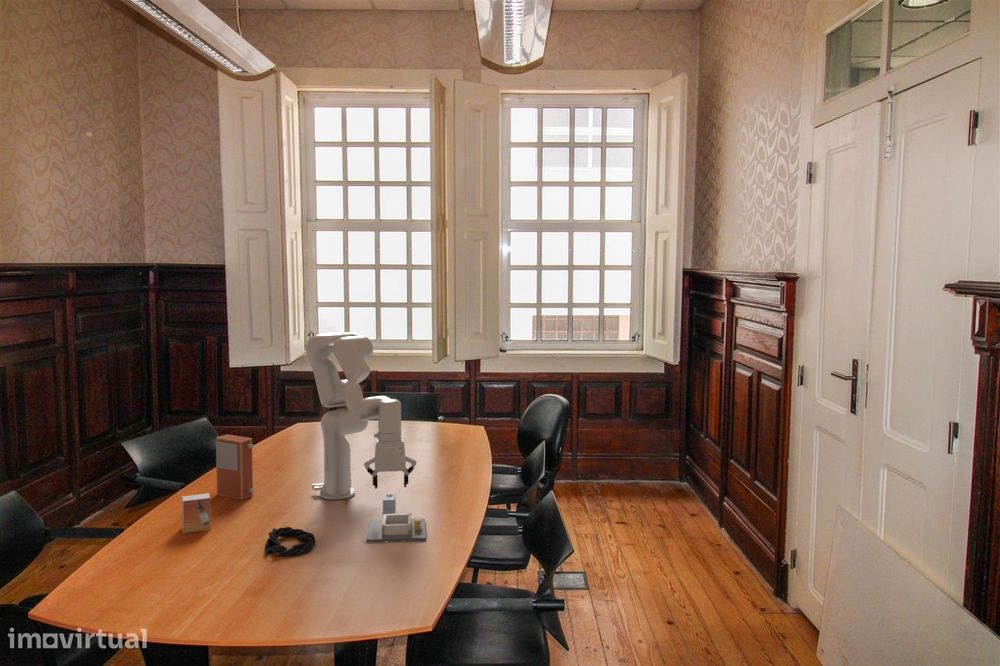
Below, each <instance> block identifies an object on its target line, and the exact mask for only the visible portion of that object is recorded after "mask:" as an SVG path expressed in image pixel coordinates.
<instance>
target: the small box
mask: <svg viewBox="0 0 1000 666" xmlns="http://www.w3.org/2000/svg"><path fill="white" fill-rule="evenodd" d="M181 503H182V505H181V508H182V510H181V512H182V513H181V515H182V517H181V518H182V520H181V521H182V533H183V534H189V533H197V532H205V531H206V532H207V531H210V530H211V529H212V525H211V520H212V519H211V516H212V515H211V513H212V512H211V496H210V493H209V492H206V493H201V494H192V495H181Z"/></svg>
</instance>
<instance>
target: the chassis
mask: <svg viewBox="0 0 1000 666" xmlns="http://www.w3.org/2000/svg"><path fill="white" fill-rule="evenodd" d="M412 516H413V515H412V512H411V513H409V512H407V513H396V514H384V515H383V514H382V519H370V520H369V524H368V529H367V534H366V539H365V543H366V542H372V543H386V542H385V541H388V542H387V543H390V542H389V541H404V542H426V541H427V539H426V538H427V537H426V536H427V534H426V532H427V530H426V518H422V517H421V516H415V517H414V518H412Z"/></svg>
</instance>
